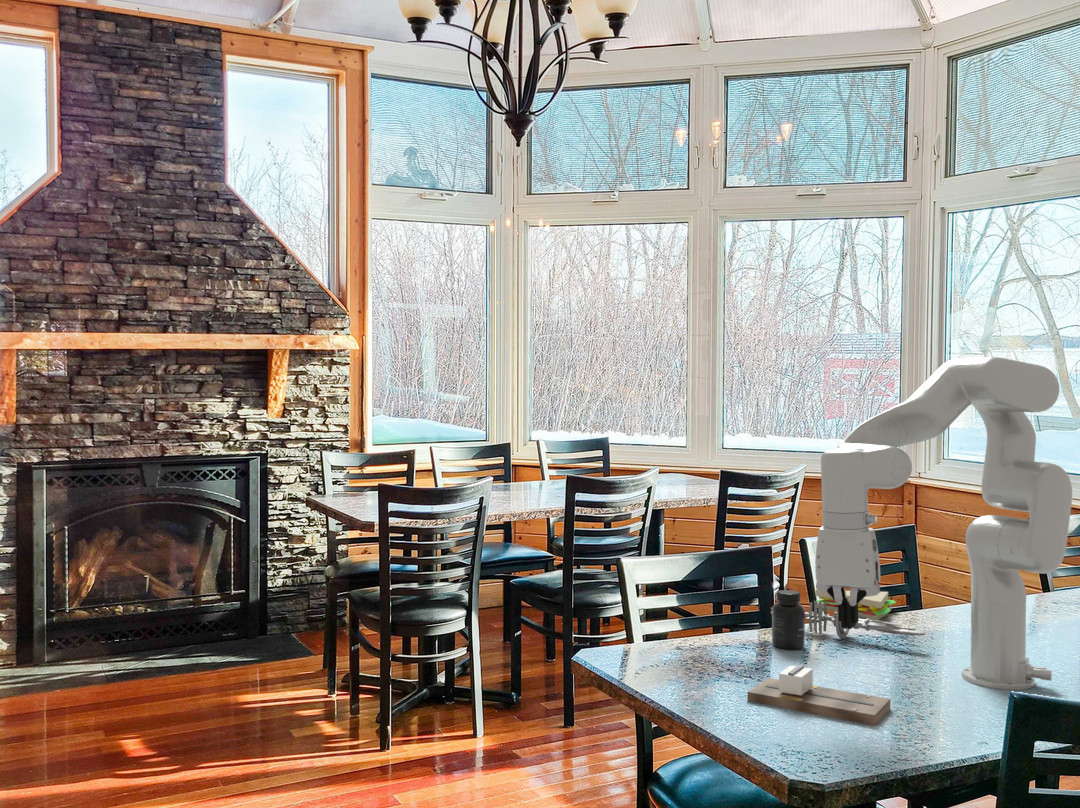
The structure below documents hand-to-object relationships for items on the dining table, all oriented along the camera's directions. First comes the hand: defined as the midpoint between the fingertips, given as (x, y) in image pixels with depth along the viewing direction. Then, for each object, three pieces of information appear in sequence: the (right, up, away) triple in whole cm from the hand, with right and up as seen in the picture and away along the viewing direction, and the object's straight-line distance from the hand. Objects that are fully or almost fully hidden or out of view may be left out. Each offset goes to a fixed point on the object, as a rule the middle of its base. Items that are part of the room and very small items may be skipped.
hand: (848, 626), depth 167 cm
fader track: (-5, -15, +2) cm, 15 cm away
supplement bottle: (0, -14, +41) cm, 44 cm away
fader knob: (-8, -12, +4) cm, 15 cm away
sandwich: (+26, -14, +75) cm, 81 cm away
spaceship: (+15, -14, +49) cm, 53 cm away
